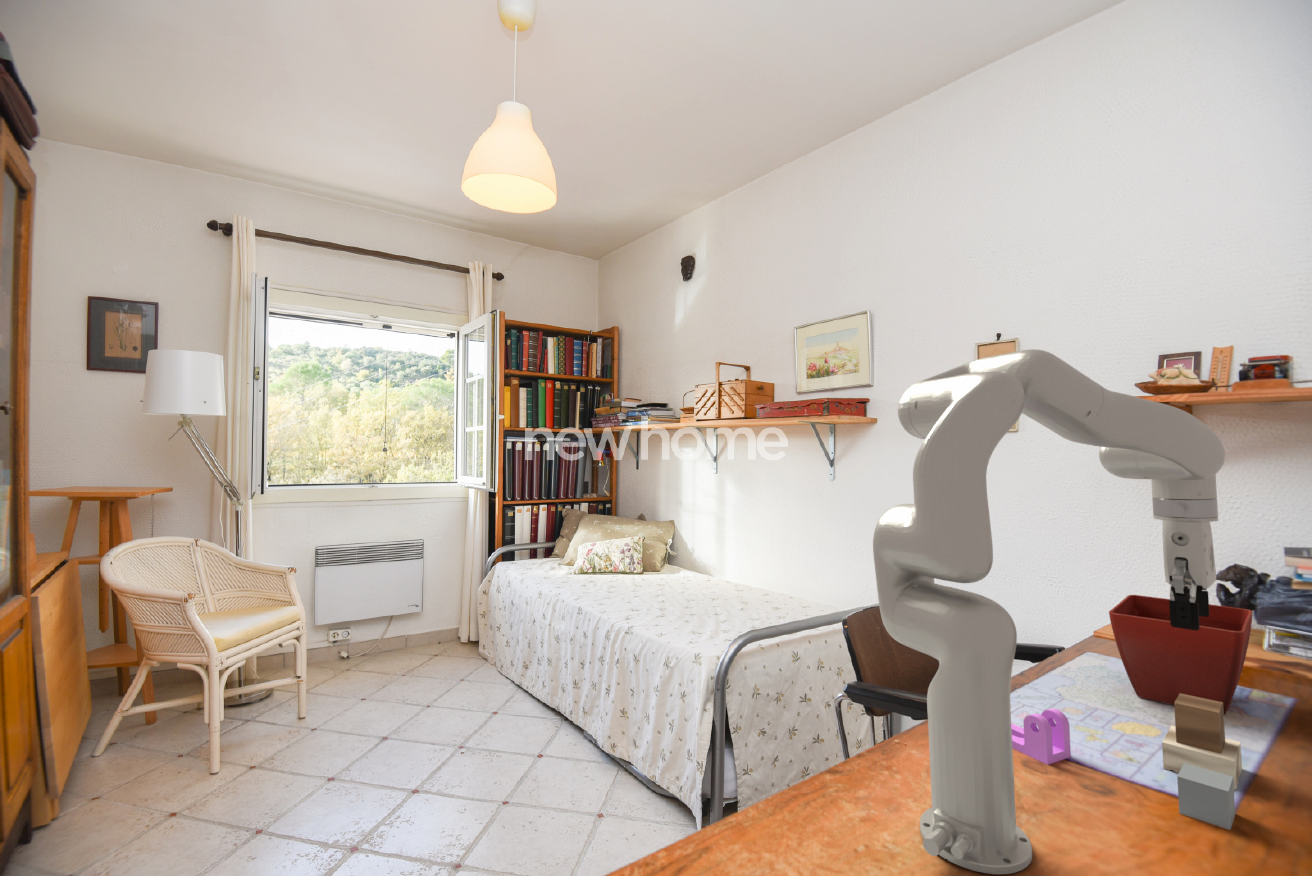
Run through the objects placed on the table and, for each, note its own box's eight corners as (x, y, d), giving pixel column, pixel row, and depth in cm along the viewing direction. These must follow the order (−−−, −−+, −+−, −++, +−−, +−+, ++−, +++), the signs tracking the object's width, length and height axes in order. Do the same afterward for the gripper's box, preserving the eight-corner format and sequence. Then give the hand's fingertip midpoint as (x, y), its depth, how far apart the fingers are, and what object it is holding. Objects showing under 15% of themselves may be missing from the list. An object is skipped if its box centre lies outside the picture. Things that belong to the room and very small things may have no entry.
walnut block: (1221, 754, 87) (1218, 712, 88) (1176, 742, 91) (1174, 702, 91) (1225, 742, 91) (1223, 702, 91) (1181, 731, 94) (1179, 693, 95)
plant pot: (1249, 730, 102) (1243, 631, 103) (1111, 698, 117) (1107, 611, 117) (1258, 697, 115) (1253, 609, 115) (1133, 672, 129) (1129, 594, 130)
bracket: (1070, 757, 96) (1068, 713, 96) (1047, 765, 94) (1045, 720, 94) (997, 724, 108) (995, 685, 108) (974, 731, 106) (973, 691, 106)
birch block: (1236, 789, 85) (1234, 761, 85) (1163, 768, 91) (1162, 742, 91) (1242, 768, 90) (1240, 742, 91) (1172, 750, 97) (1171, 725, 97)
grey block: (1230, 830, 77) (1228, 791, 77) (1179, 813, 80) (1177, 776, 81) (1235, 814, 80) (1233, 776, 80) (1185, 798, 84) (1183, 762, 84)
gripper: (1209, 516, 84) (1216, 639, 83) (1225, 506, 95) (1231, 614, 94) (1141, 513, 89) (1147, 628, 89) (1163, 504, 101) (1169, 606, 100)
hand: (1190, 621), depth 92 cm, fingers open, 9 cm apart
